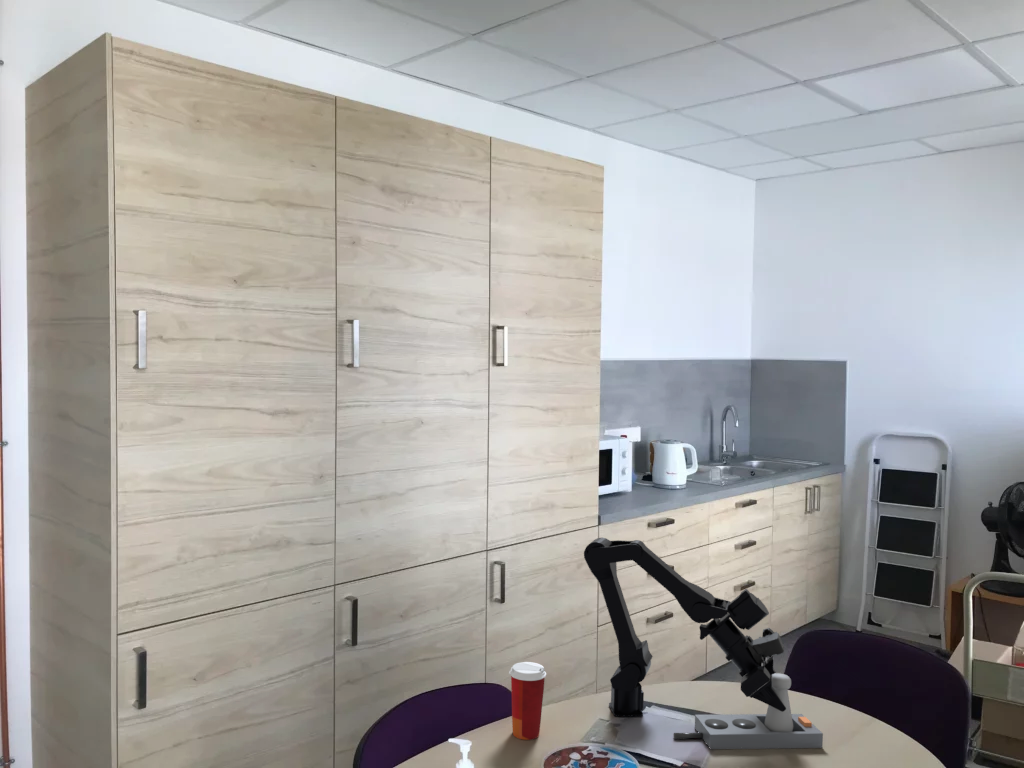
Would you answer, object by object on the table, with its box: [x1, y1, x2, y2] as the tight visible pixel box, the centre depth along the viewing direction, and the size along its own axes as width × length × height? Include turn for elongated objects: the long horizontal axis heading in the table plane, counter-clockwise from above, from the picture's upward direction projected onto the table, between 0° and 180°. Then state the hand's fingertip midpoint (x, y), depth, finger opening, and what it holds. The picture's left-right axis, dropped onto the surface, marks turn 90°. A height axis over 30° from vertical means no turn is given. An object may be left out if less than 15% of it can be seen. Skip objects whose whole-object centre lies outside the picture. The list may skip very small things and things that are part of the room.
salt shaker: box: [764, 672, 793, 732], centre depth 169 cm, size 6×6×13 cm
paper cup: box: [508, 661, 547, 741], centre depth 167 cm, size 8×8×14 cm
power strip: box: [672, 713, 824, 750], centre depth 168 cm, size 30×10×4 cm, turn 95°
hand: (784, 702), depth 169 cm, fingers open, 9 cm apart
